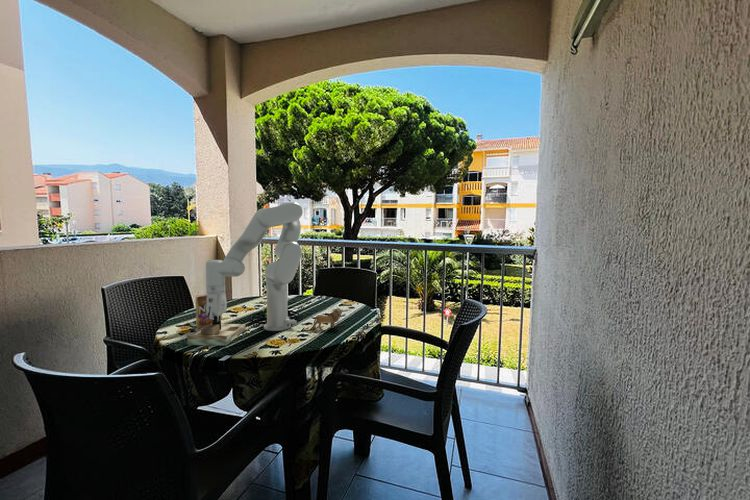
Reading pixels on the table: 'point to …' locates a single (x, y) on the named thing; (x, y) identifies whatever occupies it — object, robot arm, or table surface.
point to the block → (210, 330)
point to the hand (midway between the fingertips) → (216, 330)
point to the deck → (224, 338)
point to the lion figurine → (327, 318)
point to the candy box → (201, 311)
